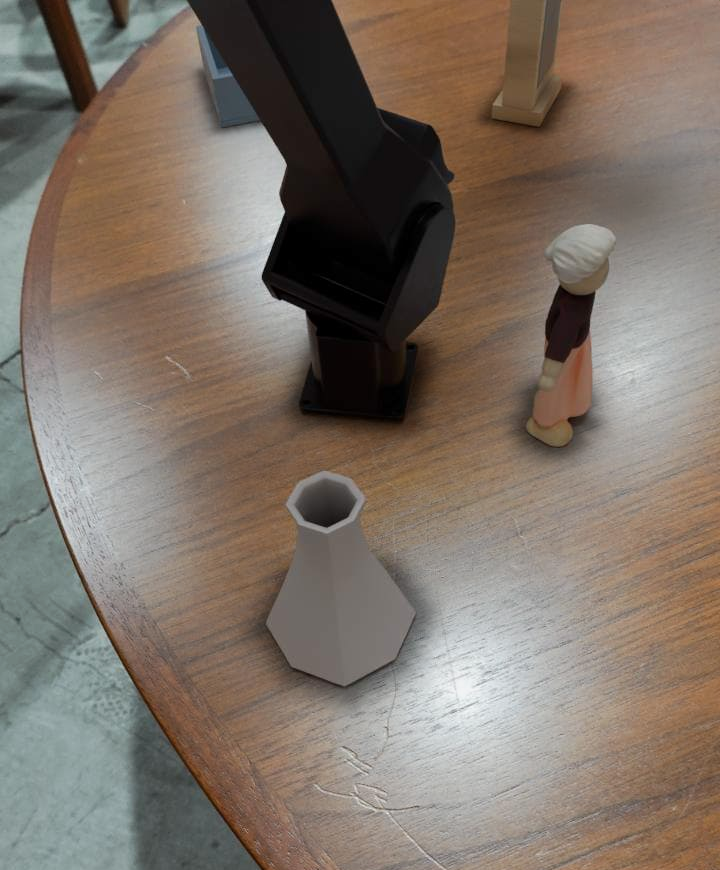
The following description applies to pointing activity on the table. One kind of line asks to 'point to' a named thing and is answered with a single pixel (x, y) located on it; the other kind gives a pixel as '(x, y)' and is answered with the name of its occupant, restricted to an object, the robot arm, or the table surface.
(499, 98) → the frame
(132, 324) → the table surface
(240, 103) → the holder
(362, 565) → the flask
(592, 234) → the grandmother figurine
